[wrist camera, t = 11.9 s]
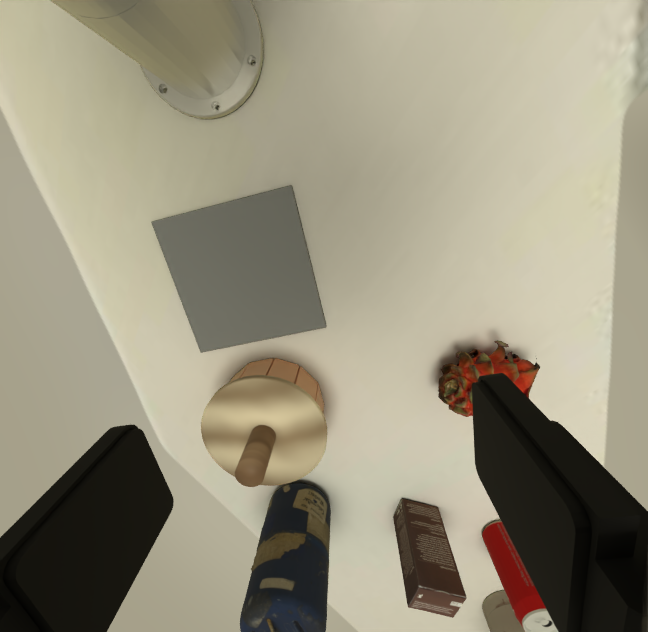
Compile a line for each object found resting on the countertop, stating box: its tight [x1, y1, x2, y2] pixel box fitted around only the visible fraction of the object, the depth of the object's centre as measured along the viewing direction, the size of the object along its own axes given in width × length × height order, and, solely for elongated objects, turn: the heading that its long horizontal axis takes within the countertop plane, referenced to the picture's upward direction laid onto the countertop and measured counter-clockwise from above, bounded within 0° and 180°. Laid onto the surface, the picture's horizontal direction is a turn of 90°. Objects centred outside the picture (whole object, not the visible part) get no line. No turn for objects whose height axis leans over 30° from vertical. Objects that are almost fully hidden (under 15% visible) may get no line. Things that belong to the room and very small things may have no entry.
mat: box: [151, 186, 326, 352], centre depth 39 cm, size 17×17×1 cm
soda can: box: [482, 521, 558, 632], centre depth 44 cm, size 6×6×12 cm
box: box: [393, 499, 466, 618], centre depth 44 cm, size 6×4×12 cm
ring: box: [230, 358, 324, 413], centre depth 42 cm, size 13×13×6 cm
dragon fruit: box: [438, 341, 540, 417], centre depth 38 cm, size 8×8×12 cm
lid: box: [201, 375, 327, 487], centre depth 36 cm, size 15×15×7 cm
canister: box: [240, 483, 331, 632], centre depth 42 cm, size 10×10×18 cm
